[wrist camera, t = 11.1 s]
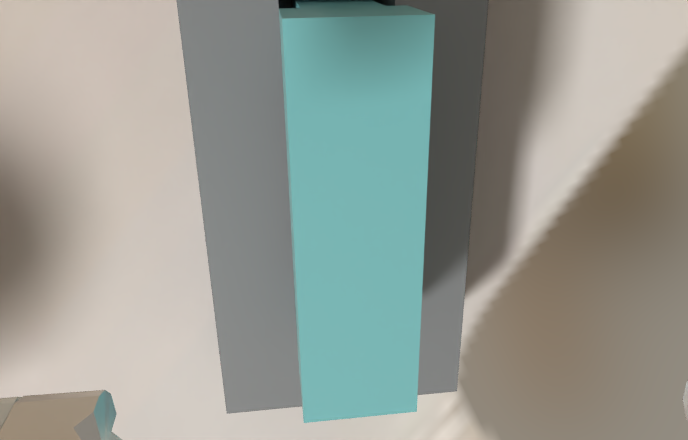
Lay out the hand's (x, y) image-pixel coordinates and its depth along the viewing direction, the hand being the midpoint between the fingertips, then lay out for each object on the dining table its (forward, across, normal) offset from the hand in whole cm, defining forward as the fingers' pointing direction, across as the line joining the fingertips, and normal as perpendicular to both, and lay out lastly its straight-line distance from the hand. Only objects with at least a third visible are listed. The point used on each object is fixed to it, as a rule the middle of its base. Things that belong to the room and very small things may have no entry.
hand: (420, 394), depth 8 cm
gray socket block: (+14, 0, +1) cm, 14 cm away
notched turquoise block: (+13, 0, +1) cm, 13 cm away
